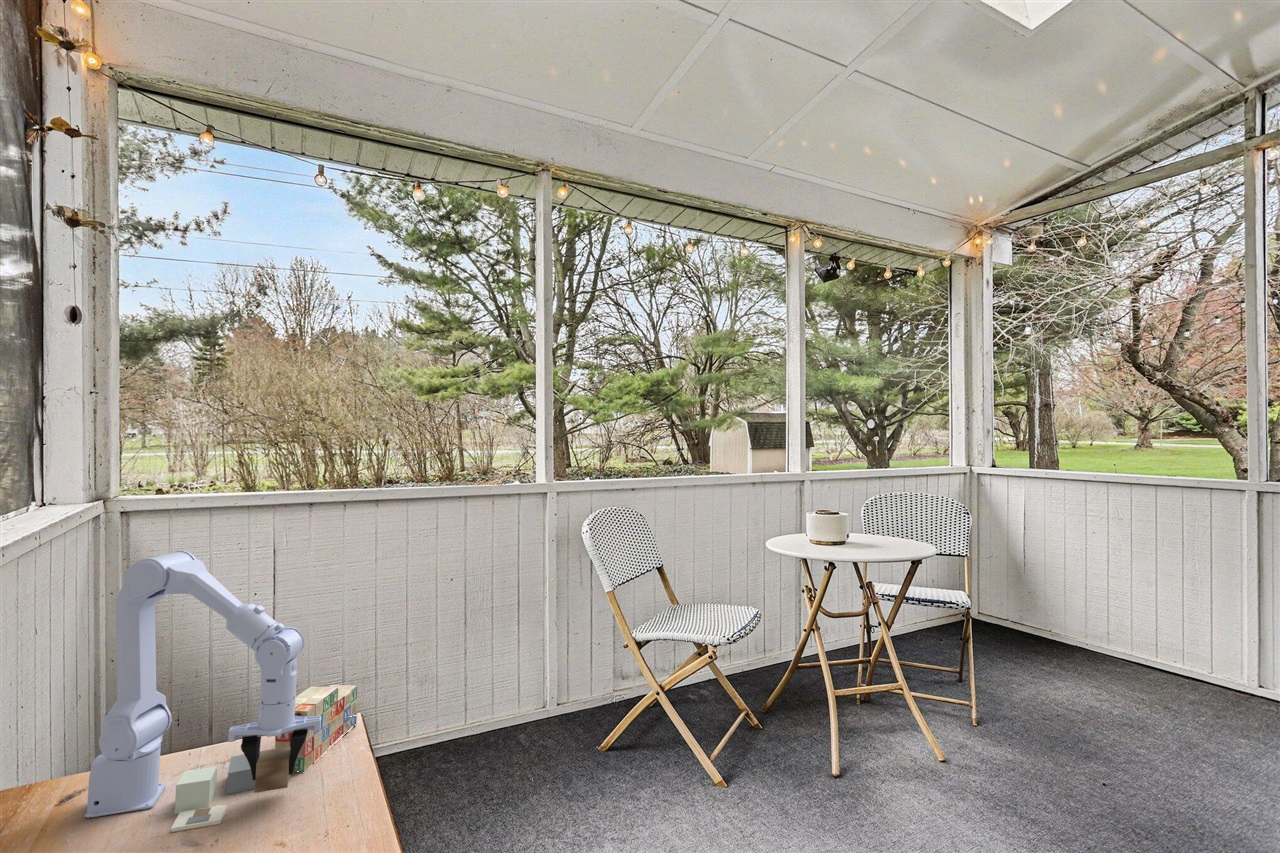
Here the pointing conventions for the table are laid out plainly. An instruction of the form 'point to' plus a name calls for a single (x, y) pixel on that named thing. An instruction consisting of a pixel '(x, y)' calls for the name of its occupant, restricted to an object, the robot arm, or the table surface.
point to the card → (199, 818)
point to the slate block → (239, 775)
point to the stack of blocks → (322, 720)
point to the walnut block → (272, 769)
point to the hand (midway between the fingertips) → (273, 774)
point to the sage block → (195, 789)
